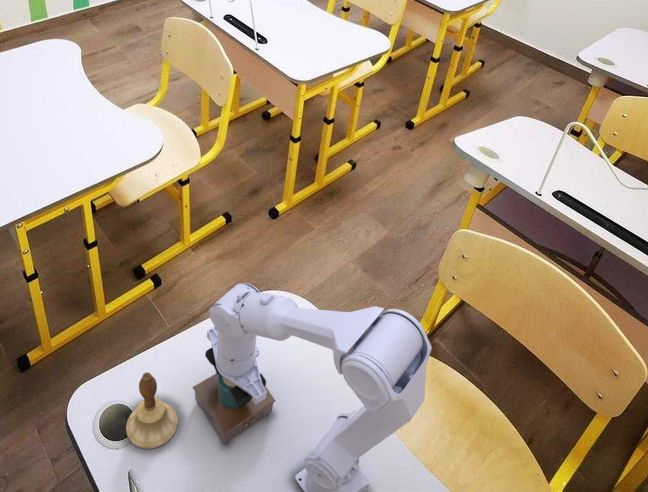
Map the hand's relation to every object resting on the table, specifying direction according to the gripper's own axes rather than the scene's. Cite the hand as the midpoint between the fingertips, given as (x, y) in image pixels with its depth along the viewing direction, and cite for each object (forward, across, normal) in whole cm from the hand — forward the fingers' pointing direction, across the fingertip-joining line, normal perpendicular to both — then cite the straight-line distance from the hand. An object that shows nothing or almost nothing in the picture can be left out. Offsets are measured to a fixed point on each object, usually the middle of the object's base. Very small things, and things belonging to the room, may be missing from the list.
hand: (234, 389), depth 98 cm
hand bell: (+7, +5, +12) cm, 15 cm away
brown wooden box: (+6, 0, 0) cm, 6 cm away
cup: (+1, 0, 0) cm, 1 cm away
